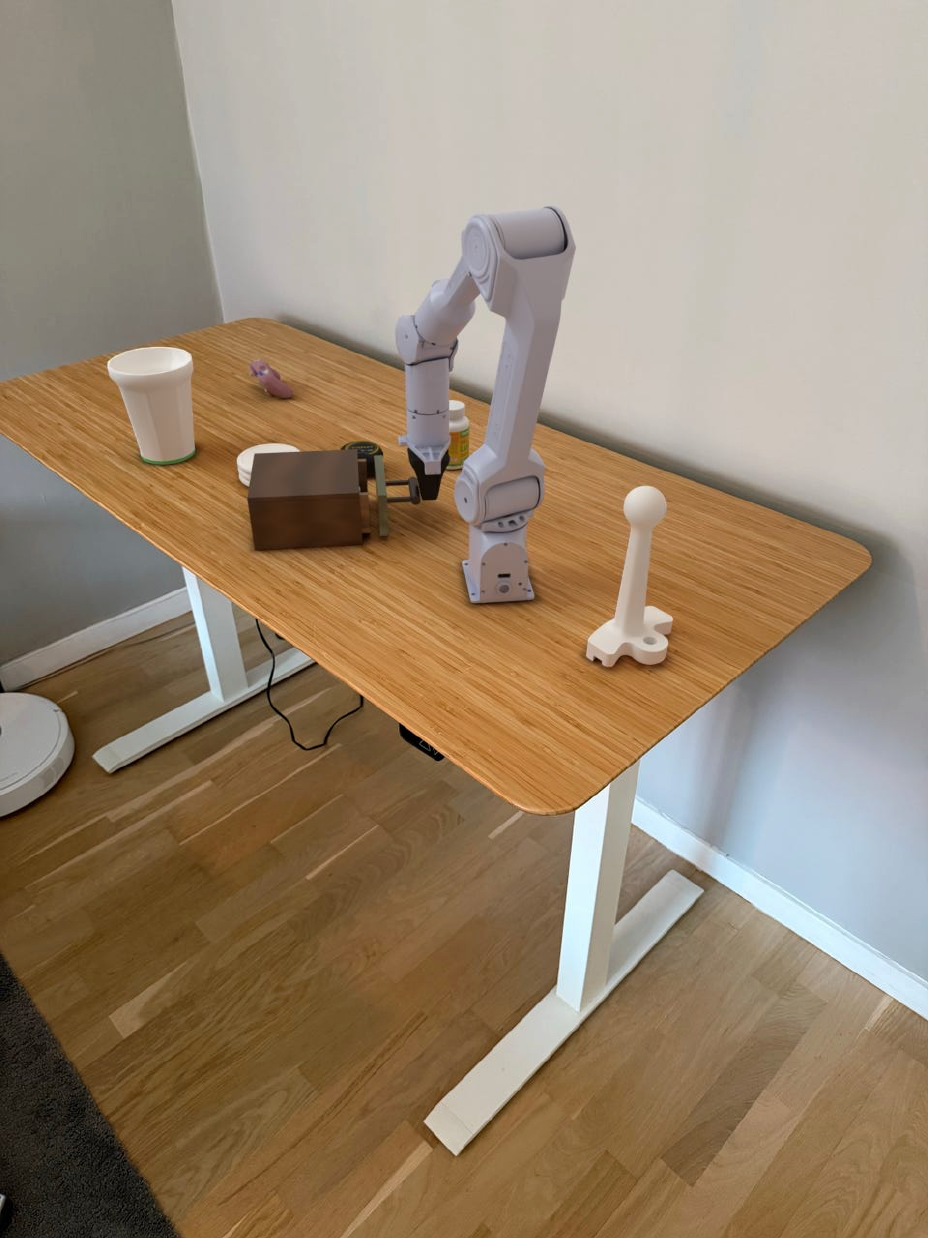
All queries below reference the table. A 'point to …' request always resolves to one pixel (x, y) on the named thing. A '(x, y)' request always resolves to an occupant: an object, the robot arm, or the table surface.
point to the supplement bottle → (458, 435)
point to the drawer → (382, 494)
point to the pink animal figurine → (270, 379)
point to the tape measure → (365, 453)
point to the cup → (157, 401)
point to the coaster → (248, 455)
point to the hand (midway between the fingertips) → (429, 498)
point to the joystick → (635, 592)
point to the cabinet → (305, 499)
